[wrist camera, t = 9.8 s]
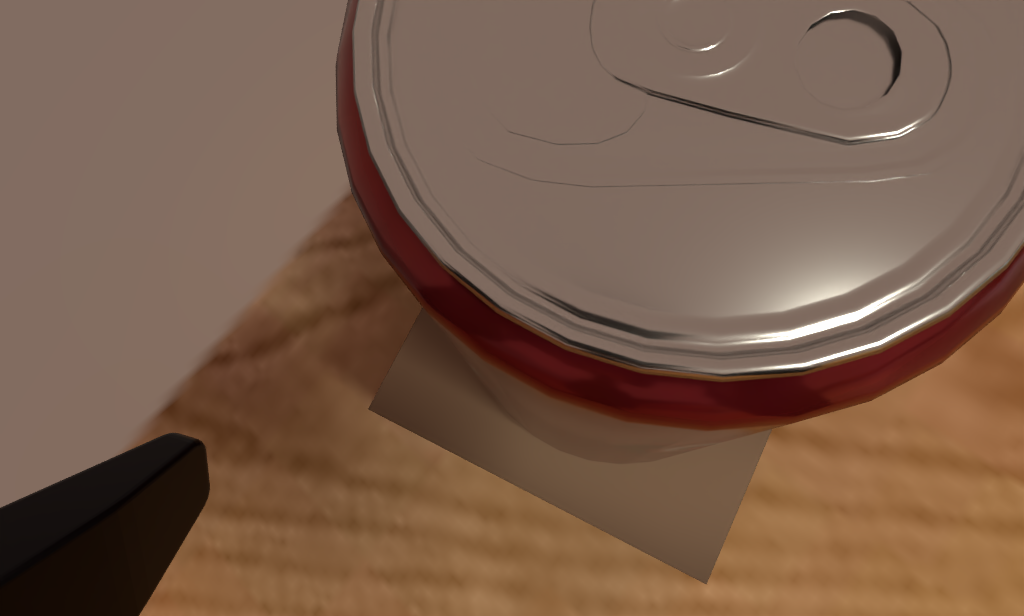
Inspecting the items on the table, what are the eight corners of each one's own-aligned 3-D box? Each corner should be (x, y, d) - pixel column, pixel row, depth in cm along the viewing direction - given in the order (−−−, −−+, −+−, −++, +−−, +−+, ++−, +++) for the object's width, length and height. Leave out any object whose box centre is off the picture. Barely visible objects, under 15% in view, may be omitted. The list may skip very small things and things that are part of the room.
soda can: (424, 392, 18) (172, 225, 6) (540, 143, 19) (503, -364, 8) (703, 515, 17) (1006, 581, 5) (805, 241, 18) (1223, -183, 7)
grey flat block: (680, 566, 20) (706, 584, 17) (403, 422, 22) (367, 409, 18) (812, 259, 22) (864, 211, 18) (548, 146, 24) (544, 80, 20)
